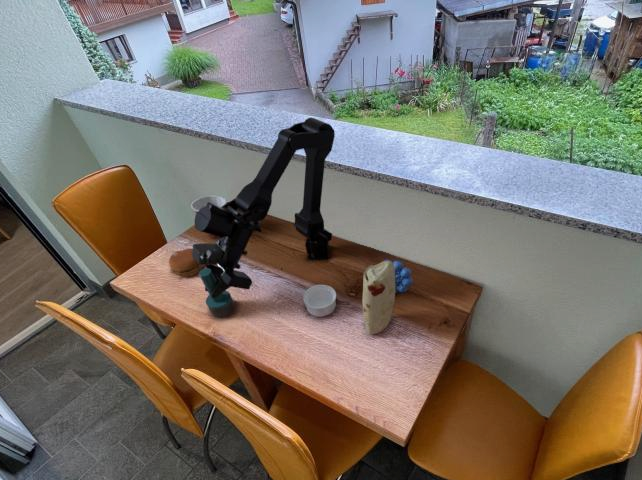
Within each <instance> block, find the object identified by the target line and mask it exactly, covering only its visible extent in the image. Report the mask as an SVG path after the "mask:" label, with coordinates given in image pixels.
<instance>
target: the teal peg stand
mask: <svg viewBox="0 0 642 480" xmlns="http://www.w3.org/2000/svg"><path fill="white" fill-rule="evenodd" d="M198 276H199V277H200V279H201V281H202V283H203V285H204V288H205V287H206V289H207V291H208V292H207V291H206V292H207V293H208V295H207V297H206V298H205V304H206V306H207V308H208V309H209V312H210V313H211V315H212V316H213V317H214V318H216V319H225V318H228V317H230V316H231V315H232V314H234V312H235V311H236V304H235V302H234V299H233V297H232V295H231V293H230V291H228V290H225V291H224V292H223V293H221V294H220V295H219V296H217V297H216V298H212V297H211V294H212V291H213V288H214V286H215V283H216V279H215V277H214V275H213V273H212V270H211V269H209V268H206V267H204V268H202V269H201V270H200V271H199V272H198Z"/></svg>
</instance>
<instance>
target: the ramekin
mask: <svg viewBox="0 0 642 480" xmlns="http://www.w3.org/2000/svg"><path fill="white" fill-rule="evenodd" d="M302 300H303V303H304V304H305V307H306V310H307V313H309V314H310V315H312V316H314V317H318V318H319V317H326V316H329V315H330V314H331V313H333V312H334V310H335V309H336V306H337V305H336V304H337V301H336V300H337V292H336V290H335V288H333V287H332V286H330V285H327V284H315V285H313V286H310V287H308V288H307V289H306V290H305V292H304V293H303V296H302Z"/></svg>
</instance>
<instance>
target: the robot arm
mask: <svg viewBox="0 0 642 480" xmlns="http://www.w3.org/2000/svg"><path fill="white" fill-rule="evenodd" d="M335 134H336V133H335V129H334V128H333V126H332V125H331V124H330V123H327V122H326V121H325V122H324V121H323V120H322V121H321V120H320V119H317V118H315V117H307V118H306V119H305V120H304V121H301V122H296V123H294V124H293V125H291V126H290V127H287V128H282V129H281V130H280V131H278V134H277V139H276V141H275V143H274V144H273V146H272V148H271V149H270V151H269V153H268V155H267V157H266V158H265V160H264V162H263V164H262V165H261V167H260V168H259V171H258V172H257V174H256V176H255V177H254V179H252V181H250V183H248V184H246V185H244V186H243V188H242V189H241V190H240V192H238V194H237V195H236V196H235V198H233V199H232V200H230V201H228V202H226V204H225V205H223V206H222V207H218V206H216V205H214V204H213V203H210V202H208V203H207V205H206V206H205V207H202V208H201V209H200V210H199V211H198V212H197V213H196V212H195V216H194V228H195V229H196V231H198V232H201V233H205V234H208V235H211V236H212V235H214V236H218V237H222V238H216V241H215V242H214V243H209V242H207V243H193V244H192V249H193V252H192V258H193V259H195V260H196V261H197V263H198V264H200V265H203V267H204V268H209V269H211V270H212V273H213V275H214V277H215V279H216V283H215V286H214V288H213V291H212V294H211V297H212V298H216V297H217V296H219V295H220V294H221V293H223V292H224V291H225V290H226V291H228V289H230V288H237V289H243V290H250V289H251V286H252V285H253V280H252V278H251V277H250V276H249V275H247V274H246V272H245V271H239V270H240V269H241V267H242V266H241V264H240V261H241V258H242V256H247V254H248V250H246V248H247V246H248V243H249V242H250V239H251V238H252V236H253V233H254V232H257V233H260V234H261V233H263V230H262V228H261V225H260V222H261V221H263V220H265V218H266V217H267V215H268V213H269V211H270V208H271V206H272V203H273V202H272V200H273V198H272V197H273V193H274V190H275V189H276V187H277V185H278V183H279V182H280V180H281V178H282V176H283V175H284V173H285V171H286V169H287V167H288V166H289V164H290V162H291V160H292V159H293V157H294V156H295V154H296V152H297V151H299V150H303V151H304V154H305V169H304V170H305V171H304V182H303V183H304V186H303V200H302V208H301V209H300V211H299V212H295V213H294V223H293V226H294V227H295V231H296V232H298V233H299V234H300V235H301V236H303V237H305V239H306V240H305V243H304V245H305V249H306V254H307V259H308V260H328V259H329V257H330V251H331V245H330V244H329V242H331V240H332V237H333V233H332V232H331V231H329V230H327V229H326V228H325V221H324V218H323V215H322V212H321V205H322V193H323V186H324V185H323V183H324V175H325V165H326V159H327V157H328V156H329V154H330V153H331V152H332V150H333V145H334V142H335V138H336V137H335ZM236 269H237V270H236ZM204 291H205V292H207V293H208V291H207V289H206V287H205V286H204Z"/></svg>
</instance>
